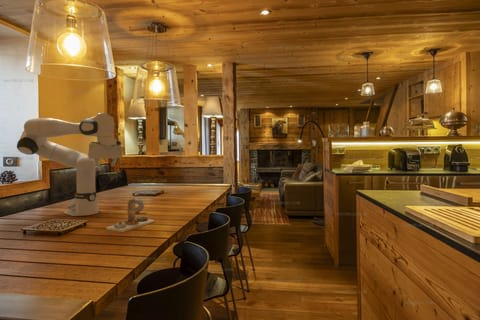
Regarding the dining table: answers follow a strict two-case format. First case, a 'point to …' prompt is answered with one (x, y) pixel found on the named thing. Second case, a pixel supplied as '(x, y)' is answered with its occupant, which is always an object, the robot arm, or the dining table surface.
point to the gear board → (123, 227)
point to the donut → (139, 205)
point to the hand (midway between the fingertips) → (106, 166)
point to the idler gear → (131, 213)
